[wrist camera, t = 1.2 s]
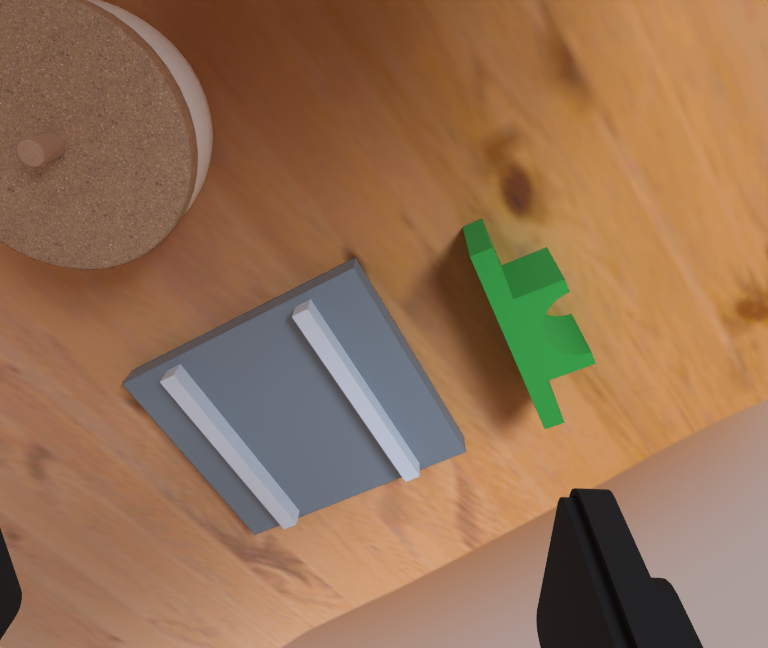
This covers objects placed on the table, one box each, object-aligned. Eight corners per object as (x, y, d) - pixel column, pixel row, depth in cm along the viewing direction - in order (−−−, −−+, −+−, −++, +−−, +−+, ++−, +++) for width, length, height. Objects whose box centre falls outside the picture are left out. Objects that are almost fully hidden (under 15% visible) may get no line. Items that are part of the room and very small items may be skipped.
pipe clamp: (589, 361, 37) (612, 407, 33) (529, 383, 38) (544, 430, 34) (528, 196, 32) (545, 226, 28) (461, 225, 33) (469, 258, 29)
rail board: (355, 257, 34) (351, 276, 31) (464, 436, 39) (467, 464, 37) (132, 370, 38) (113, 395, 35) (259, 518, 43) (250, 548, 41)
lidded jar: (-24, 70, 30) (-189, 96, 22) (142, -62, 27) (26, -88, 19) (123, 249, 34) (32, 329, 26) (281, 151, 31) (235, 206, 23)
